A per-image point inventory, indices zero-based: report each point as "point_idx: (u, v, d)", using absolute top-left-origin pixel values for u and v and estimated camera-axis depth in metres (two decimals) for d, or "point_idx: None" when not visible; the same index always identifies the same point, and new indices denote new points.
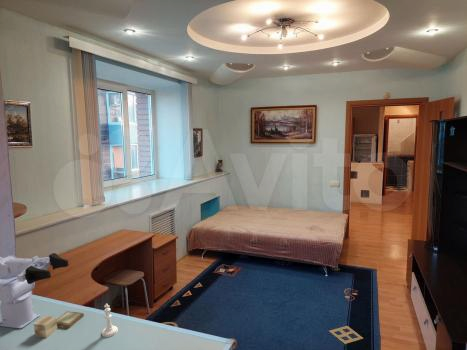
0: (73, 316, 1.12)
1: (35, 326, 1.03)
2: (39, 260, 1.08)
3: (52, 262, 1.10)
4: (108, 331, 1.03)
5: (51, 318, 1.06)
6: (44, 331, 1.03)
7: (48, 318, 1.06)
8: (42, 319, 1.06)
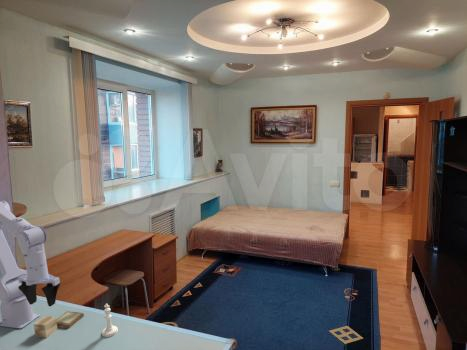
0: (73, 316, 1.12)
1: (35, 326, 1.03)
2: None
3: None
4: (108, 331, 1.03)
5: (51, 318, 1.06)
6: (44, 331, 1.03)
7: (48, 318, 1.06)
8: (42, 319, 1.06)
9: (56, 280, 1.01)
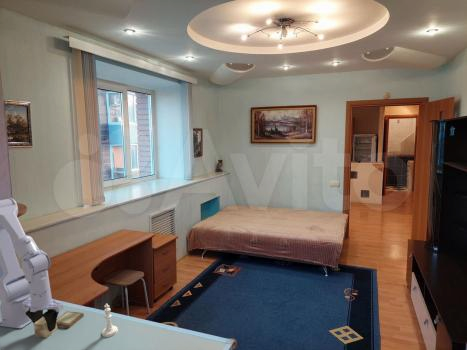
0: (73, 316, 1.12)
1: (35, 326, 1.03)
2: None
3: None
4: (108, 331, 1.03)
5: None
6: (44, 331, 1.03)
7: None
8: (42, 319, 1.06)
9: (60, 306, 1.02)
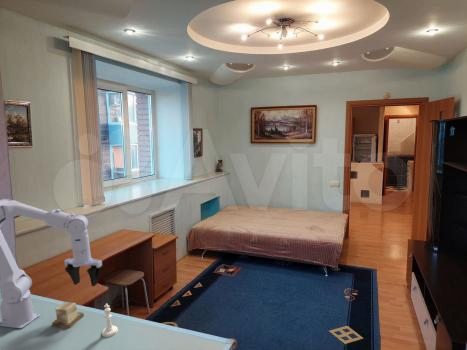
0: None
1: (57, 311, 1.09)
2: None
3: None
4: (108, 331, 1.03)
5: (71, 304, 1.12)
6: (66, 316, 1.09)
7: (68, 304, 1.12)
8: (63, 305, 1.11)
9: (99, 263, 1.13)
